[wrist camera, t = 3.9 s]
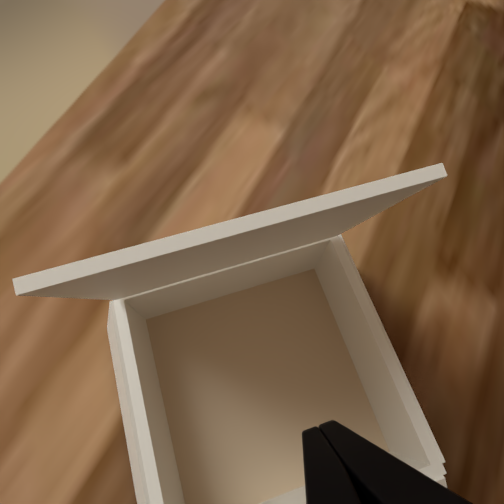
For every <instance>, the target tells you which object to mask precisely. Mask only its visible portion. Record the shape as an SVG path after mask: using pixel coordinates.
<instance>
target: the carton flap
mask: <svg viewBox="0 0 504 504" xmlns="http://www.w3.org/2000/svg"><path fill="white" fill-rule="evenodd" d="M446 176H447V173H446V171H445V168H444V165H443V163H440V164H436V165H432V166H429V167H425V168H421V169H418V170H414V171H410V172H407V173H403V174H399V175H395V176H392V177H388V178H384V179H381V180H377V181H373V182H369V183H366V184H362V185H358V186H355V187H351V188H347V189H344V190H340V191H336V192H332V193H329V194H325V195H321V196H318V197H314V198H310V199H307V200H303V201H299V202H295V203H292V204H288V205H284V206H281V207H277V208H273V209H269V210H266V211H262V212H258V213H255V214H251V215H247V216H244V217H240V218H236V219H232V220H229V221H225V222H221V223H218V224H214V225H210V226H207V227H203V228H199V229H195V230H192V231H188V232H184V233H181V234H177V235H173V236H169V237H166V238H162V239H158V240H155V241H151V242H147V243H144V244H140V245H136V246H132V247H129V248H125V249H121V250H118V251H114V252H110V253H106V254H103V255H99V256H95V257H92V258H88V259H84V260H81V261H77V262H73V263H69V264H66V265H62V266H58V267H55V268H51V269H47V270H44V271H40V272H36V273H32V274H29V275H25V276H21V277H18V278H14V279H12V280H13V284H14V289H15V293H16V295H19V296H40V297H61V298H82V299H103V300H118V299H121V298H125V297H128V296H132V295H135V294H139V293H142V292H145V291H149V290H152V289H156V288H159V287H163V286H166V285H170V284H173V283H176V282H180V281H183V280H187V279H190V278H194V277H197V276H201V275H204V274H207V273H211V272H214V271H218V270H221V269H225V268H228V267H232V266H235V265H238V264H242V263H245V262H249V261H252V260H256V259H259V258H263V257H266V256H269V255H273V254H276V253H280V252H283V251H287V250H290V249H294V248H297V247H300V246H304V245H307V244H311V243H314V242H318V241H321V240H325V239H328V238H331V237H335V236H338V235H340V234H341V233H343V232H345V231H347V230H349V229H351V228H352V227H354V226H356V225H358V224H360V223H362V222H364V221H365V220H367V219H369V218H371V217H373V216H375V215H376V214H378V213H380V212H382V211H384V210H386V209H387V208H389V207H391V206H393V205H395V204H397V203H398V202H400V201H402V200H404V199H406V198H408V197H410V196H411V195H413V194H415V193H417V192H419V191H421V190H422V189H424V188H426V187H428V186H430V185H432V184H433V183H435V182H437V181H439V180H441V179H443V178H444V177H446Z"/></svg>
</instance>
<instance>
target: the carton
mask: <svg viewBox="0 0 504 504" xmlns="http://www.w3.org/2000/svg"><path fill="white" fill-rule="evenodd" d="M107 331H108V337H109V343H110V348H111V354H112V360H113V366H114V372H115V377H116V383H117V389H118V395H119V401H120V407H121V412H122V418H123V424H124V430H125V436H126V441H127V447H128V453H129V459H130V465H131V470H132V476H133V482H134V488H135V494H136V499H137V504H306V493H305V478H304V462H303V447H302V431H304V430H306V429H309V428H311V427H314V426H317V427H319V425H320V424H322V423H325V422H327V421H330V420H335V421H337V422H339V423H340V424H342V425H344V426H345V427H347V428H349V429H350V430H352V431H354V432H355V433H357V434H359V435H360V436H362V437H364V438H365V439H367V440H368V441H370V442H372V443H373V444H375V445H377V446H378V447H380V448H382V449H383V450H385V451H387V452H388V453H390V454H392V455H393V456H395V457H396V458H398V459H400V460H401V461H403V462H405V463H406V464H408V465H410V466H411V467H413V468H415V469H416V470H418V471H420V472H421V473H423V474H424V475H426V476H428V477H429V478H431V479H433V480H434V481H436V482H438V483H439V484H441V485H443V486H444V487H446V488H447V484H446V479H445V477H444V476H443V475H445V474H447V473H446V471H445V468H444V466H443V464H442V463H445V460H444V457H443V455H442V453H441V451H440V449H439V446H438V444H437V442H436V440H435V438H434V436H433V433H432V431H431V429H430V427H429V425H428V423H427V420H426V418H425V416H424V414H423V412H422V409H421V407H420V405H419V403H418V401H417V399H416V396H415V394H414V392H413V390H412V388H411V386H410V383H409V381H408V379H407V377H406V375H405V372H404V370H403V368H402V366H401V364H400V362H399V359H398V357H397V355H396V353H395V351H394V348H393V346H392V344H391V342H390V340H389V338H388V335H387V333H386V331H385V329H384V327H383V325H382V322H381V320H380V318H379V316H378V314H377V311H376V309H375V307H374V305H373V303H372V301H371V298H370V296H369V294H368V292H367V290H366V288H365V285H364V283H363V281H362V279H361V277H360V274H359V272H358V270H357V268H356V266H355V264H354V261H353V259H352V257H351V255H350V253H349V251H348V248H347V246H346V244H345V242H344V240H343V237H342V235H339V236H335V237H331V238H328V239H325V240H321V241H318V242H314V243H311V244H307V245H304V246H300V247H297V248H294V249H290V250H287V251H283V252H280V253H276V254H273V255H269V256H266V257H263V258H259V259H256V260H252V261H249V262H245V263H242V264H238V265H235V266H232V267H228V268H225V269H221V270H218V271H214V272H211V273H207V274H204V275H201V276H197V277H194V278H190V279H187V280H183V281H180V282H176V283H173V284H170V285H166V286H163V287H159V288H156V289H152V290H149V291H145V292H142V293H139V294H135V295H132V296H128V297H125V298H121V299H118V300H113V301H110V304H109V314H108V324H107Z"/></svg>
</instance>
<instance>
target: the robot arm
mask: <svg viewBox="0 0 504 504" xmlns="http://www.w3.org/2000/svg"><path fill="white" fill-rule="evenodd" d="M302 447H303V462H304V478H305V493H306V504H472V503H471V502H469V501H467V500H466V499H464V498H462V497H461V496H459V495H457V494H456V493H454V492H452V491H451V490H449V489H448V488H446V487H444V486H443V485H441V484H439V483H438V482H436V481H434V480H433V479H431V478H429V477H428V476H426V475H424V474H423V473H421V472H420V471H418V470H416V469H415V468H413V467H411V466H410V465H408V464H406V463H405V462H403V461H401V460H400V459H398V458H396V457H395V456H393V455H392V454H390V453H388V452H387V451H385V450H383V449H382V448H380V447H378V446H377V445H375V444H373V443H372V442H370V441H368V440H367V439H365V438H364V437H362V436H360V435H359V434H357V433H355V432H354V431H352V430H350V429H349V428H347V427H345V426H344V425H342V424H340V423H339V422H337V421H335V420H330V421H327V422H325V423H322V424H320V425H319V427H317V426H314V427H311V428H309V429H306V430H304V431H302Z"/></svg>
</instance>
